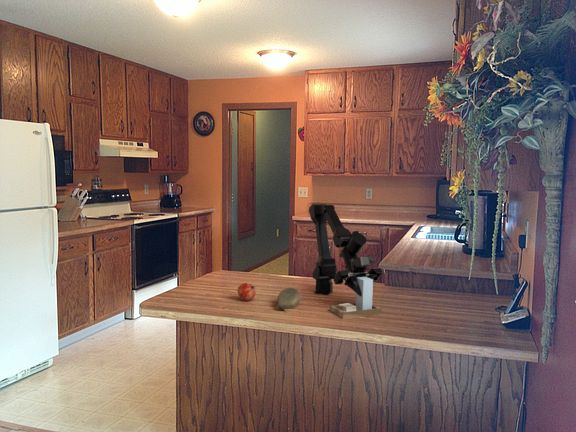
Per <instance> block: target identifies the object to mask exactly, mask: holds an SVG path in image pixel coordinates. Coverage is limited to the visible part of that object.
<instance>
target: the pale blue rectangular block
mask: <svg viewBox="0 0 576 432" xmlns="http://www.w3.org/2000/svg"><path fill="white" fill-rule="evenodd" d="M357 283H358V285H359V288H360V290H361V293H362V296H359V295H358V294H357V293H356V292H355V303H356V311H358V310H367V309H372V304H373V292H374V291H373V290H374V289H373V288H374V286H373V285H374V281H373V279H370V278H368V277H357Z"/></svg>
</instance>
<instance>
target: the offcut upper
mask: <svg viewBox="0 0 576 432" xmlns="http://www.w3.org/2000/svg"><path fill="white" fill-rule="evenodd" d="M338 305H339V306H338V308H339V309H341V310H343V311H345V312H349V311H356V306H354V305H352V304H350V303H349V302H346V303H339V304H338Z"/></svg>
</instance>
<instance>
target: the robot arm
mask: <svg viewBox="0 0 576 432" xmlns="http://www.w3.org/2000/svg"><path fill="white" fill-rule="evenodd" d="M334 205H335V204H326V203H312V204H311V205H310V206H309V208H308V213H309V216H310V220H311V221H312V222H313V224H314V226H315V234H316V235H315V236H316V243H317V251H318V259H316V262H315V269H314V270H313V271H312V279H314V280H315V291H314V292H313V294H318V295H330V294H331V293H333V292H334V291H333V290H334V287H333V282H334V284H335V285H342V284H343V283H344V286H347V287H348V288H350V289H351V290H352V291H353V292H354V293H355V294H356V293H357V294H358V295H359V296H362V293H361V290H360V288H359V285H358V283H357V277H368V278H370V279H373V282H377V281H378V280H379V279H380V278H381V276H382V275H383V273H384V272H383V270H382V268H381V267H371V268H370V270H369V271H367V270H368V268H367V267H370V266H371V265H373V264H374V262H375V260H374V257H373V255H370V254H369V255H367V256H361V257H359V255H358V254H359V253H360V252H361V251H362V249H363V248H364V246H365V245H366V243H367V241H368V240H367V237H366V236H365V235H363V234H362V233H360V231H358V230H354V231H352V232H351V231H350V230H349V229H347V228H346V227H344V224H343V223H342V221H341V219H340V217H339V216H338V213H337V212H336V209H335V206H334ZM327 223H328V225H329V228H330V229H331V232H332V243H333V244H334V246H335V247H336V248H338V249H339V248H341V249H342V250H340V253H339V258H342V259H343V261H344V264H345V265H344V269H343V270H338V271H337V265H336V264H337V263H336V259H335V257H334V258H333V257H332V256H331V253H330V244H329V236H328V228H327ZM332 280H333V281H332Z"/></svg>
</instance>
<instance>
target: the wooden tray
mask: <svg viewBox="0 0 576 432" xmlns="http://www.w3.org/2000/svg"><path fill="white" fill-rule="evenodd" d="M349 304H352V305H354V306H356V302H351V303H349ZM338 306H339V304H335V305H334V304H333V305H329V312H331V313H333V314H334V315H336V316H338V317H339V318H341V319H342V320H344V319H352V318H353V319H354V318H362V317H369V316H378V315H382V312H383V311H382V308H381V307H379V306H377V305H375V304H373V303H372V309H367V310H358V311H349V312H343V311H342V310H340V309H338Z"/></svg>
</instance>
